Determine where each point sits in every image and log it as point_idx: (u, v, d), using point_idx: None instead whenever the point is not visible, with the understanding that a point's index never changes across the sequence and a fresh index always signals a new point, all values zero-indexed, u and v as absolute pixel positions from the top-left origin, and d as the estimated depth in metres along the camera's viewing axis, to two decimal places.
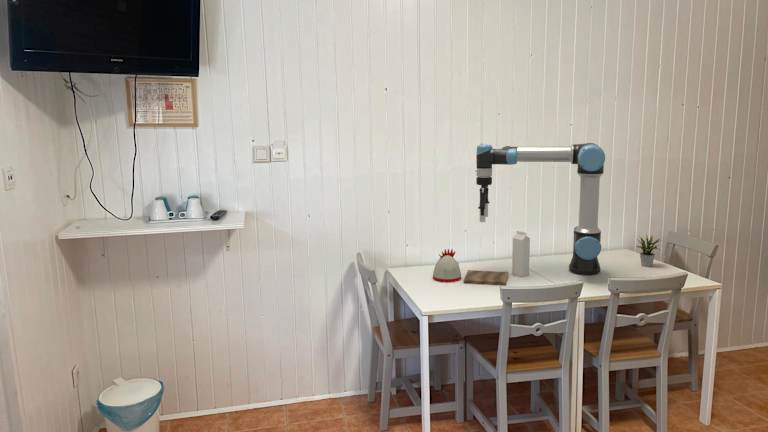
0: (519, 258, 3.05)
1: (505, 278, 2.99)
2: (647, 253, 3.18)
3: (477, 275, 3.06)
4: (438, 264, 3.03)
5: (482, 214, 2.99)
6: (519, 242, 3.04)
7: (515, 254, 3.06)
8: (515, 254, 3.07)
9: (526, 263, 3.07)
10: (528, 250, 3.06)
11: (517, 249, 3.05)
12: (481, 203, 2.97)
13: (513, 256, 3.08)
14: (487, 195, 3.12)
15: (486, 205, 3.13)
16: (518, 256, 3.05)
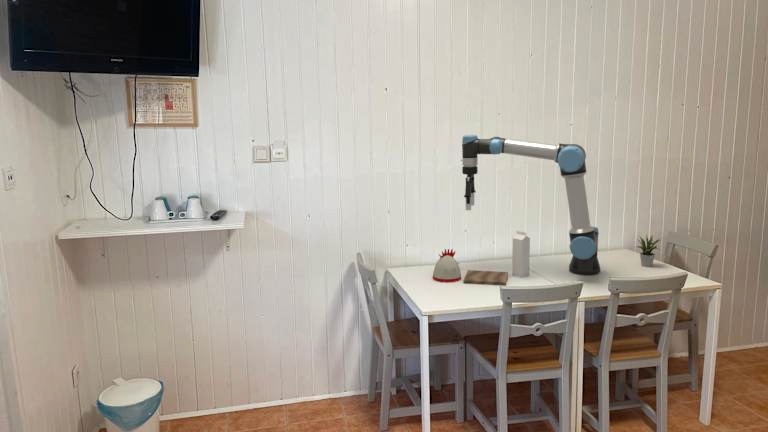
0: (519, 258, 3.05)
1: (505, 278, 2.99)
2: (647, 253, 3.18)
3: (477, 275, 3.06)
4: (438, 264, 3.03)
5: (468, 202, 3.07)
6: (519, 242, 3.04)
7: (515, 254, 3.06)
8: (515, 254, 3.07)
9: (526, 263, 3.07)
10: (528, 250, 3.06)
11: (517, 249, 3.05)
12: (467, 192, 3.05)
13: (513, 256, 3.08)
14: None
15: (472, 194, 3.20)
16: (518, 256, 3.05)
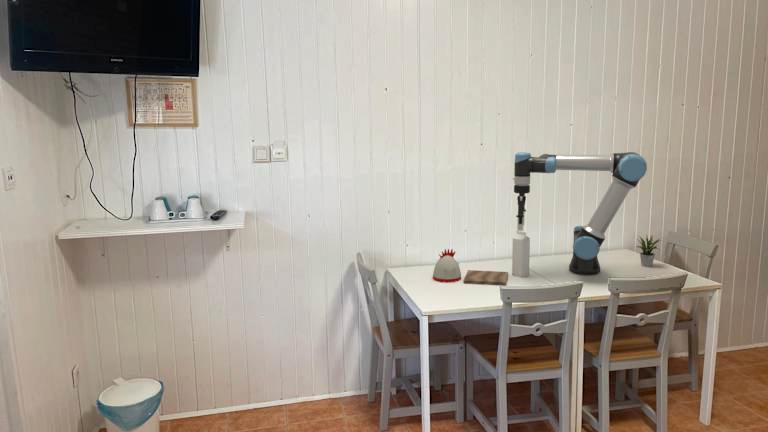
0: (519, 258, 3.05)
1: (505, 278, 2.99)
2: (647, 253, 3.18)
3: (477, 275, 3.06)
4: (438, 264, 3.03)
5: (520, 223, 2.97)
6: (519, 242, 3.04)
7: (515, 254, 3.06)
8: (514, 254, 3.07)
9: (526, 263, 3.07)
10: (528, 250, 3.06)
11: (517, 249, 3.05)
12: (519, 211, 2.95)
13: (513, 256, 3.08)
14: None
15: (523, 213, 3.10)
16: (518, 256, 3.05)
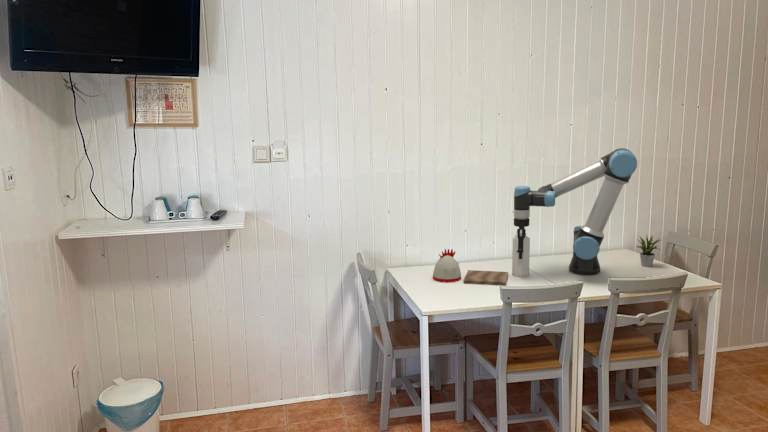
0: None
1: (505, 278, 2.99)
2: (647, 253, 3.18)
3: (477, 275, 3.06)
4: (438, 264, 3.03)
5: (520, 258, 3.02)
6: None
7: (515, 254, 3.06)
8: (514, 254, 3.07)
9: (526, 263, 3.07)
10: (528, 250, 3.06)
11: (517, 249, 3.05)
12: (519, 247, 3.00)
13: (513, 256, 3.08)
14: None
15: None
16: None
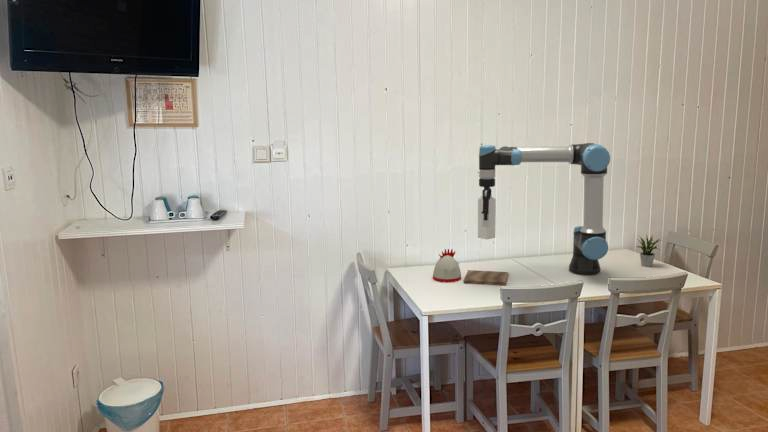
0: None
1: (505, 278, 2.99)
2: (647, 253, 3.18)
3: (477, 275, 3.06)
4: (438, 264, 3.03)
5: (485, 219, 2.93)
6: None
7: (481, 215, 2.97)
8: (480, 216, 2.98)
9: (492, 225, 2.97)
10: (494, 211, 2.97)
11: None
12: (484, 208, 2.90)
13: (479, 218, 2.99)
14: None
15: None
16: None
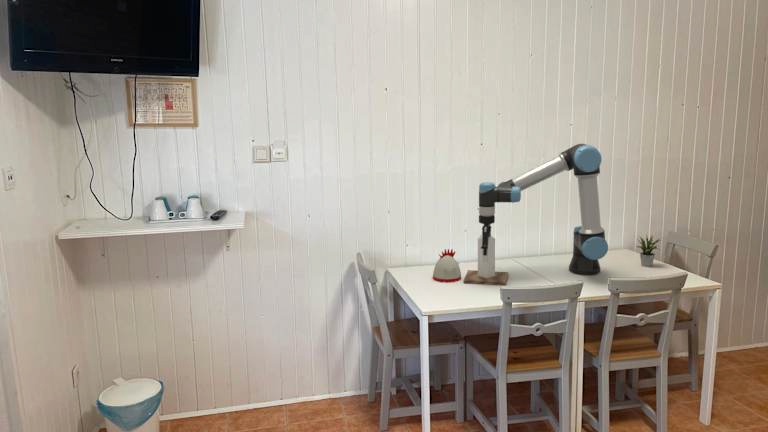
0: None
1: (505, 278, 2.99)
2: (647, 253, 3.18)
3: (477, 275, 3.06)
4: (438, 264, 3.03)
5: (485, 254, 2.94)
6: None
7: (481, 254, 3.01)
8: (480, 255, 3.01)
9: (492, 264, 3.01)
10: (493, 251, 3.00)
11: None
12: (484, 243, 2.92)
13: (478, 257, 3.02)
14: None
15: None
16: None
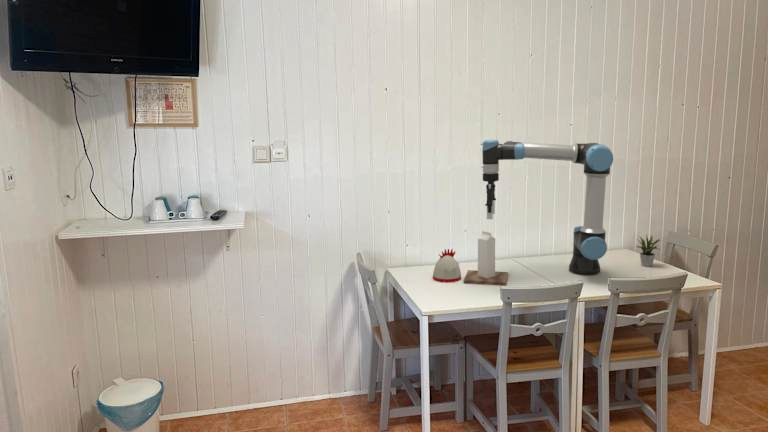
0: (485, 259, 2.99)
1: (505, 278, 2.99)
2: (647, 253, 3.18)
3: (477, 275, 3.06)
4: (438, 264, 3.03)
5: (489, 211, 2.91)
6: (484, 242, 2.98)
7: (481, 254, 3.01)
8: (480, 255, 3.01)
9: (492, 264, 3.01)
10: (494, 251, 3.00)
11: (483, 250, 2.99)
12: (488, 200, 2.89)
13: (478, 257, 3.02)
14: (493, 192, 3.05)
15: (493, 202, 3.05)
16: (483, 256, 2.99)
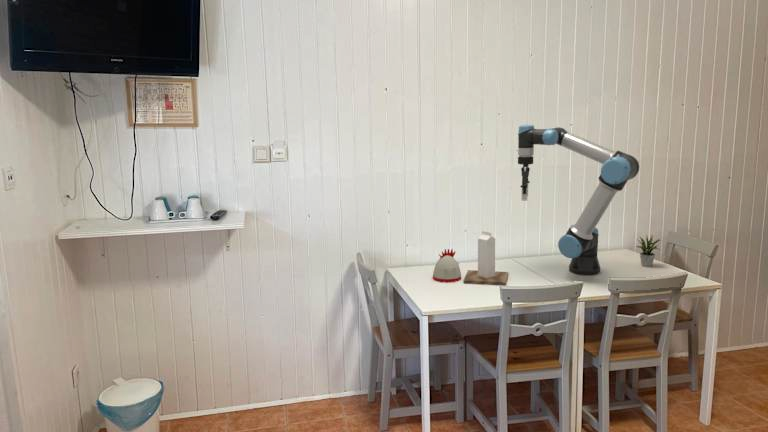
0: (485, 259, 2.99)
1: (505, 278, 2.99)
2: (647, 253, 3.18)
3: (477, 275, 3.06)
4: (438, 264, 3.03)
5: (524, 192, 3.05)
6: (484, 242, 2.98)
7: (481, 254, 3.01)
8: (480, 255, 3.01)
9: (492, 264, 3.01)
10: (494, 251, 3.00)
11: (483, 250, 2.99)
12: (523, 182, 3.03)
13: (478, 257, 3.02)
14: None
15: (526, 185, 3.19)
16: (483, 256, 2.99)
